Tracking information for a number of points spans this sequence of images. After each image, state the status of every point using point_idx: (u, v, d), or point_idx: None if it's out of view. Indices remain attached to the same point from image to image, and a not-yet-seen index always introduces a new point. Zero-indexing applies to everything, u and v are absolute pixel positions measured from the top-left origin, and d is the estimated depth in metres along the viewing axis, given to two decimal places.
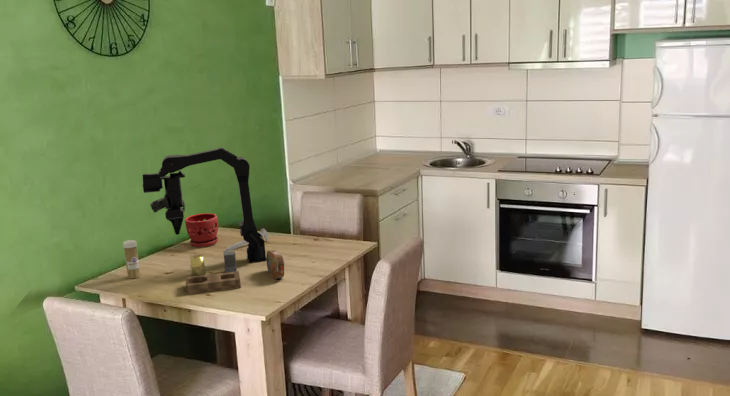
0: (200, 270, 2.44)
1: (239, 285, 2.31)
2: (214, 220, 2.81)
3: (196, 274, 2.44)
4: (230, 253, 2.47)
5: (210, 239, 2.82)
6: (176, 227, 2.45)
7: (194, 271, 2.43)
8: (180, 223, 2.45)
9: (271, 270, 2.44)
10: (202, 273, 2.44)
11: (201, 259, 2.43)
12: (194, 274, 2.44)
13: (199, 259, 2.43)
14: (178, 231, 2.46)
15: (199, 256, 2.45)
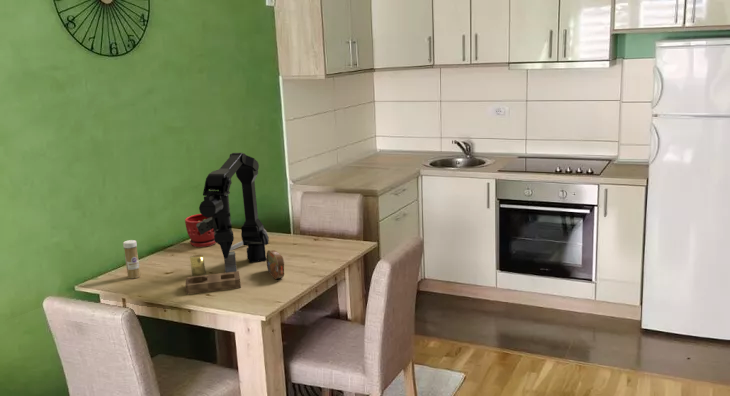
0: (200, 270, 2.44)
1: (239, 285, 2.31)
2: None
3: (196, 274, 2.44)
4: (230, 253, 2.47)
5: (210, 239, 2.82)
6: (225, 250, 2.26)
7: (194, 271, 2.43)
8: (229, 246, 2.26)
9: (271, 270, 2.44)
10: (202, 273, 2.44)
11: (201, 259, 2.43)
12: (194, 274, 2.44)
13: (199, 259, 2.43)
14: (227, 254, 2.27)
15: (199, 256, 2.45)
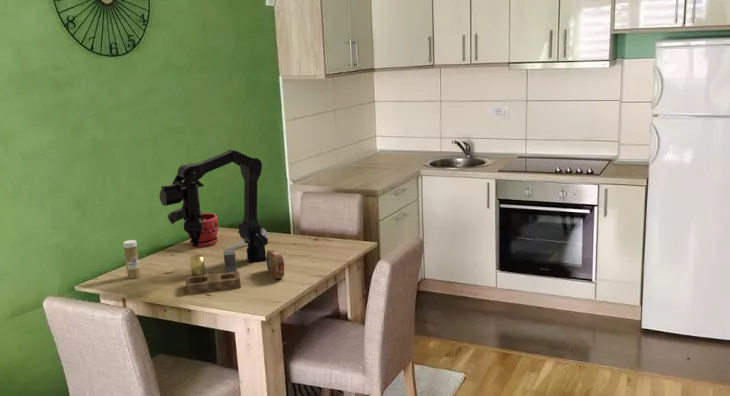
0: (200, 270, 2.44)
1: (239, 285, 2.31)
2: (214, 220, 2.81)
3: (196, 274, 2.44)
4: (230, 253, 2.47)
5: (210, 239, 2.82)
6: (194, 239, 2.38)
7: (194, 271, 2.43)
8: (198, 235, 2.37)
9: (271, 270, 2.44)
10: (202, 273, 2.44)
11: (201, 259, 2.43)
12: (194, 274, 2.44)
13: (199, 259, 2.43)
14: (196, 243, 2.38)
15: (199, 256, 2.45)
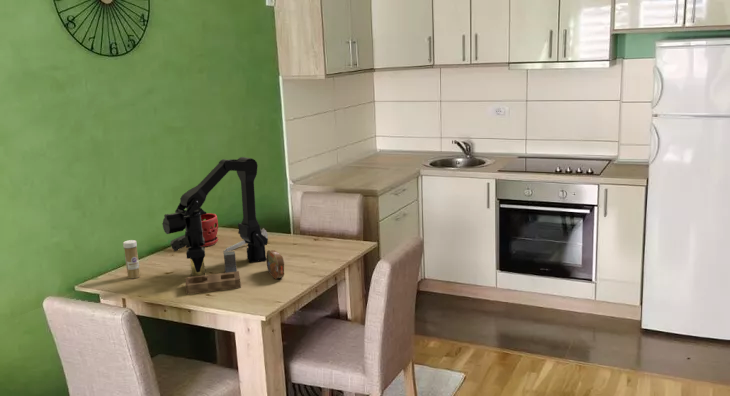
0: (200, 270, 2.44)
1: (239, 285, 2.31)
2: (214, 220, 2.81)
3: (196, 274, 2.44)
4: (230, 253, 2.47)
5: (210, 239, 2.82)
6: (197, 264, 2.42)
7: (194, 271, 2.43)
8: (201, 261, 2.41)
9: (271, 270, 2.44)
10: (202, 273, 2.44)
11: None
12: (194, 274, 2.44)
13: None
14: (199, 269, 2.43)
15: None
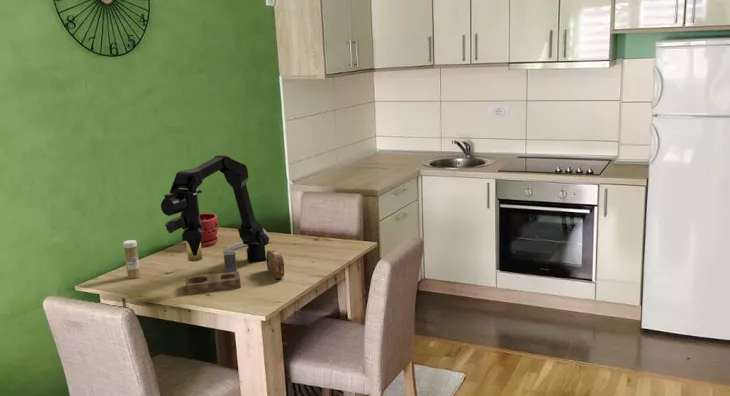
0: None
1: (239, 285, 2.31)
2: (214, 220, 2.81)
3: (192, 258, 2.27)
4: (230, 253, 2.47)
5: (210, 239, 2.82)
6: (193, 247, 2.26)
7: (190, 255, 2.27)
8: (198, 243, 2.25)
9: (271, 270, 2.44)
10: (199, 257, 2.28)
11: None
12: (190, 258, 2.28)
13: None
14: (195, 252, 2.27)
15: None
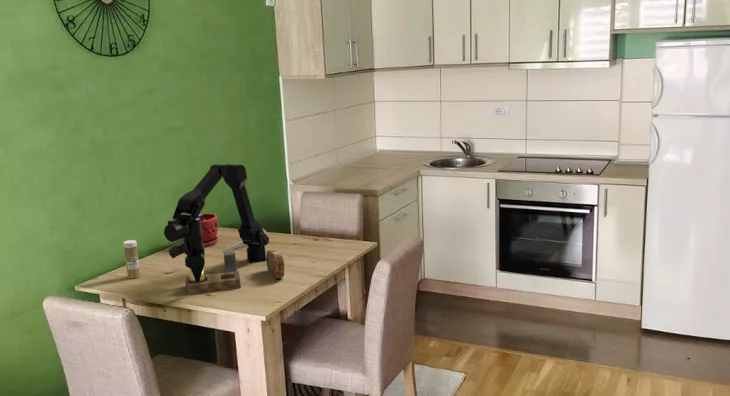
0: None
1: (239, 285, 2.31)
2: (214, 220, 2.81)
3: None
4: (230, 253, 2.47)
5: (210, 239, 2.82)
6: (196, 274, 2.26)
7: None
8: (201, 270, 2.25)
9: (271, 270, 2.44)
10: None
11: None
12: None
13: None
14: (198, 279, 2.26)
15: None
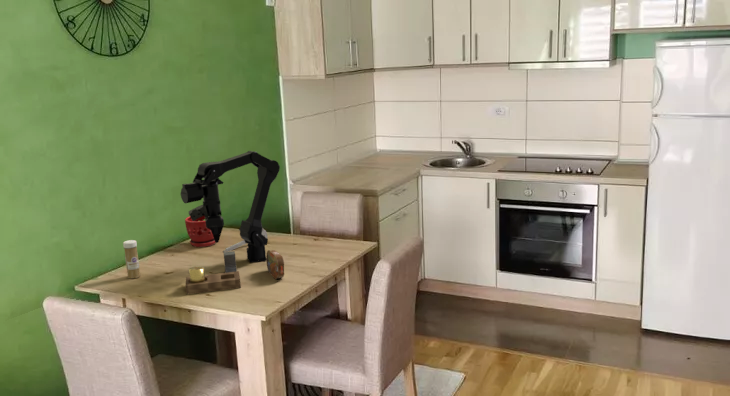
0: None
1: (239, 285, 2.31)
2: None
3: None
4: (230, 253, 2.47)
5: (210, 239, 2.82)
6: (216, 235, 2.43)
7: None
8: (220, 231, 2.42)
9: (271, 270, 2.44)
10: None
11: (201, 271, 2.30)
12: None
13: (199, 272, 2.29)
14: (218, 239, 2.44)
15: (199, 268, 2.31)
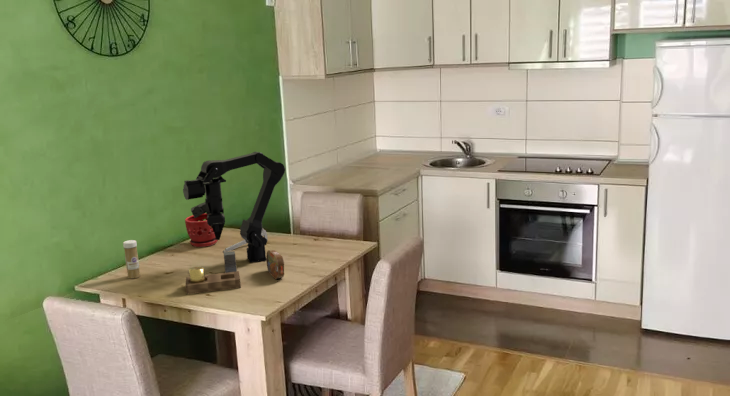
0: None
1: (239, 285, 2.31)
2: None
3: None
4: (230, 253, 2.47)
5: (210, 239, 2.82)
6: (217, 232, 2.45)
7: None
8: (221, 228, 2.44)
9: (271, 270, 2.44)
10: None
11: (201, 271, 2.30)
12: None
13: (199, 272, 2.29)
14: (219, 236, 2.46)
15: (199, 268, 2.31)
